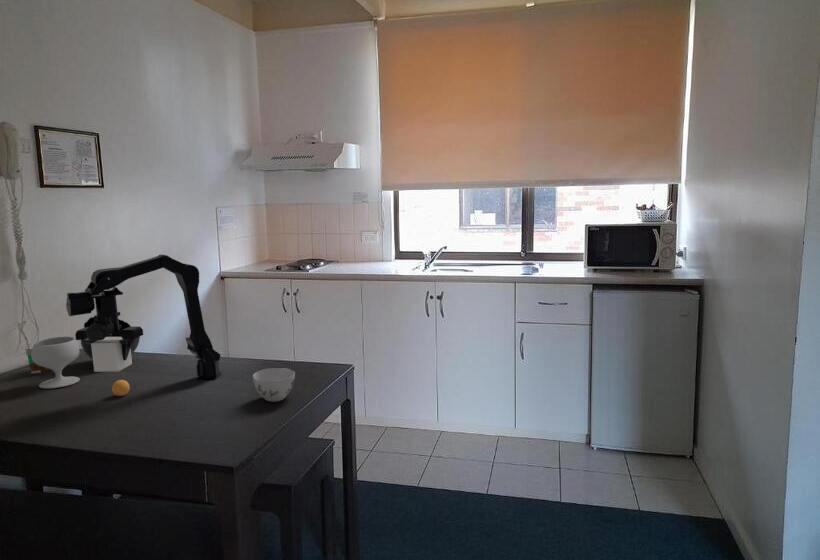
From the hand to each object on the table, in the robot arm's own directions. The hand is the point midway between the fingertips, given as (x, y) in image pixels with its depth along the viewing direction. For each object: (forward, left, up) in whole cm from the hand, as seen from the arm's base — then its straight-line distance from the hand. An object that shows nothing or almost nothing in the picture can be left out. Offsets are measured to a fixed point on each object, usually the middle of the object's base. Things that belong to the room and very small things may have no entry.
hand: (112, 360), depth 183 cm
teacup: (-51, -1, -13) cm, 53 cm away
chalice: (+29, -15, -13) cm, 35 cm away
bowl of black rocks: (+24, -39, -13) cm, 48 cm away
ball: (0, -3, -10) cm, 10 cm away
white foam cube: (0, 0, -2) cm, 2 cm away
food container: (+43, -29, -13) cm, 53 cm away
